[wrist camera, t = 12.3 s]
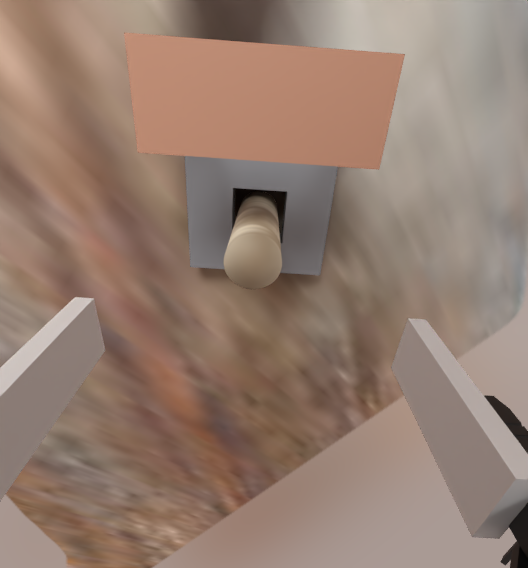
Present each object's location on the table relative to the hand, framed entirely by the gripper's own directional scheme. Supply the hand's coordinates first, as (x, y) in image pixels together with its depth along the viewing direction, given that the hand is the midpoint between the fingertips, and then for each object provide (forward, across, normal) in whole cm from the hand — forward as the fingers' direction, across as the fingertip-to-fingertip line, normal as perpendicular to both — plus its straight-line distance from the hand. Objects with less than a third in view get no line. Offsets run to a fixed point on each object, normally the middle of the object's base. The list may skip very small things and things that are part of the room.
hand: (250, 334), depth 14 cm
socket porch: (+23, 0, +2) cm, 23 cm away
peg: (+23, 0, -1) cm, 23 cm away
